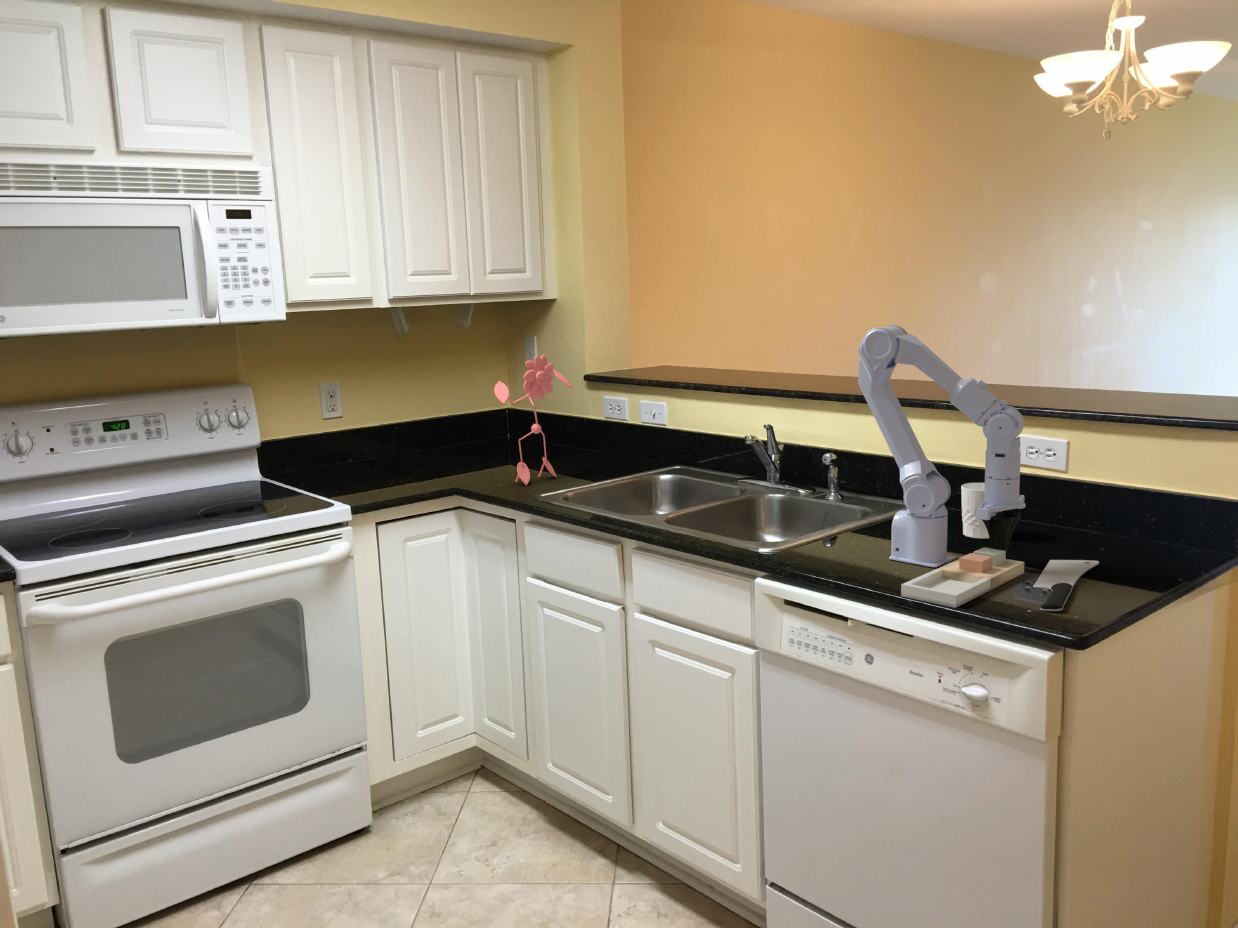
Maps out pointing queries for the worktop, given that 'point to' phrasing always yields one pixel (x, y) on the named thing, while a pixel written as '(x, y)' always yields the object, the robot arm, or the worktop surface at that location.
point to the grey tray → (943, 589)
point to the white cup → (973, 510)
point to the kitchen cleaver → (1061, 581)
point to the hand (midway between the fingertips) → (999, 552)
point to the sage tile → (993, 555)
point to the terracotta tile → (975, 563)
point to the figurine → (537, 385)
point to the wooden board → (984, 573)
